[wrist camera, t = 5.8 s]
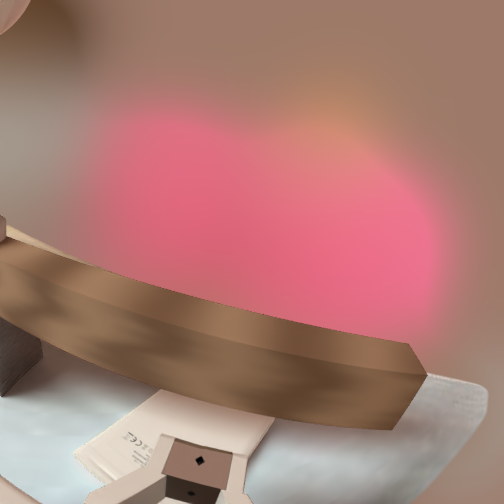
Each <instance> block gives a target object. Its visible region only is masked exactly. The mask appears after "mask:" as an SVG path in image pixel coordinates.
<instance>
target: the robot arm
mask: <svg viewBox="0 0 504 504" xmlns="http://www.w3.org/2000/svg"><path fill="white" fill-rule="evenodd" d="M29 2H30V0H0V34H2V33H3V32H5V31H6V30H7V29H8V28H10V27H11V26H12V25H13V24H14V23H15V22H16V21H17V20H18V19H19V17H20V16H21V15H22V14H23V12H24V11H25V9H26V7H27V6H28V4H29ZM247 462H248V457H247V455H243V454H238V453H232V452H230V451H225V450H221V449H216V448H212V447H208V446H202V445H198V444H195V443H192V442H188V441H185V440H182V439H178V438H176V437H172V436H169V435H166V434H163V433H161V435H160V436H159V438H158V440H157V443H156V445H155V447H154V450H153V452H152V454H151V457H150V459H149V461H148V464H147V466H146V468H144V467H140V468H138V469H137V470H135V471H133V472H131V473H129V474H127V475H125V476H123V477H121V478H119V479H118V480H116V481H114V482H112V483H110V484H108V485H105V486H103V487H101V488H99V489H97V490H95V491H93V492H91V493H89V495H88V497H87V499H86V501H85V503H84V504H157V503H159V502H160V501H162V500H163V499H164V498H165V497H167V498H171V499H174V500H178V501H182V502H186V503H190V504H253V503H252V501H251V500H250V498H249V496H248V495H247V494H243V492H244V484H245V477H246V470H247ZM0 504H42V503H40V502H39V501H37V500H35V499H34V498H32V497H31V496H29V495H28V494H26V493H25V492H23V491H22V490H20V489H19V488H18V487H16V486H15V485H13V484H12V483H11V482H9V481H8V480H6V479H5V478H4V477H2V476H1V475H0Z"/></svg>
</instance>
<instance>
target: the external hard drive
mask: <svg viewBox="0 0 504 504" xmlns="http://www.w3.org/2000/svg"><path fill="white" fill-rule="evenodd" d="M274 420H275V417H269V416H264V415H259V414H254V413H249V412H245V411H240V410H236V409H231V408H227V407H223V406H219V405H215V404H211V403H207V402H204V401H200V400H196V399H193V398H189V397H186V396H182V395H179V394H176V393H172V392H169V391H166V390H163V389H160V390H159V391H158V392H156V393H155V394H154V395H152V396H151V397H150V398H148V399H147V400H146V401H144V402H143V403H142V404H140V405H139V406H137V407H136V408H135V409H133V410H132V411H131V412H129V413H128V414H127V415H125V416H124V417H123V418H121V419H120V420H118V421H117V422H116V423H114V424H113V425H111V426H110V427H109V428H107V429H106V430H104V431H103V432H102V433H100V434H99V435H97V436H96V437H94V438H93V439H92V440H90V441H89V442H87V443H86V444H84V445H83V446H81V447H80V448H78V449H77V450H76V451H74V452H73V454H74V456H75V458H76V459H77V460H78V461H79V462H80V463H81V464H82V465H83V466H84V467H85V468H86V469H87V470H88V471H89V472H91V473H92V474H93V475H94V476H95V477H96V478H97V479H98V480H100V481H101V482H102V483H103V484H104V485H108V484H110V483H112V482H114V481H116V480H118V479H119V478H121V477H123V476H125V475H127V474H129V473H131V472H133V471H135V470H137V469H138V468H140V467H144V468H146V466H147V464H148V461H149V459H150V457H151V454H152V452H153V450H154V447H155V445H156V443H157V440H158V438H159V436H160V435H161V433H163V434H166V435H169V436H172V437H176V438H178V439H182V440H185V441H188V442H192V443H195V444H198V445H202V446H208V447H212V448H216V449H221V450H225V451H230V452H232V453H238V454H243V455H247V457H248V459H249V457H250V456H251V455H252V453H253V452H254V450H255V449H256V447H257V446H258V444H259V443H260V441H261V440H262V438H263V437H264V435H265V434H266V432H267V431H268V429H269V428H270V426H271V425H272V423H273V422H274ZM157 504H190V503H186V502H182V501H178V500H174V499H171V498H167V497H165V498H164V499H163V500H162V501H160V502H159V503H157Z"/></svg>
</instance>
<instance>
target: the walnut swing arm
mask: <svg viewBox="0 0 504 504" xmlns="http://www.w3.org/2000/svg"><path fill="white" fill-rule="evenodd" d="M0 317H2V318H3V319H5V320H7V321H9V322H10V323H12V324H14V325H16V326H17V327H19V328H21V329H23V330H25V331H26V332H28V333H30V334H32V335H34V336H36V337H38V338H40V339H42V340H43V341H45V342H47V343H49V344H51V345H53V346H56V347H58V348H60V349H62V350H64V351H66V352H68V353H70V354H72V355H75V356H77V357H79V358H81V359H84V360H86V361H88V362H91V363H93V364H95V365H98V366H100V367H103V368H105V369H107V370H110V371H113V372H115V373H118V374H120V375H123V376H126V377H128V378H131V379H134V380H136V381H139V382H142V383H145V384H148V385H151V386H154V387H157V388H160V389H163V390H166V391H169V392H172V393H176V394H179V395H182V396H186V397H189V398H193V399H196V400H200V401H204V402H207V403H211V404H215V405H219V406H223V407H227V408H231V409H236V410H240V411H245V412H249V413H254V414H259V415H264V416H269V417H275V418H281V419H286V420H293V421H299V422H306V423H313V424H321V425H329V426H339V427H349V428H362V429H378V430H392V429H393V428H394V426H395V425H396V424H397V422H398V421H399V419H400V418H401V416H402V415H403V413H404V412H405V410H406V409H407V408H408V406H409V404H410V403H411V401H412V400H413V398H414V397H415V395H416V394H417V392H418V390H419V389H420V387H421V386H422V384H423V382H424V381H425V379H426V377H427V373H426V372H425V370H424V368H423V366H422V365H421V363H420V361H419V360H418V358H417V357H416V355H415V353H414V352H413V350H412V348H411V347H410V345H409V344H407V343H400V342H395V341H389V340H384V339H378V338H372V337H367V336H361V335H356V334H351V333H346V332H341V331H336V330H331V329H326V328H322V327H317V326H312V325H307V324H303V323H298V322H294V321H289V320H285V319H281V318H276V317H272V316H268V315H264V314H259V313H255V312H251V311H247V310H243V309H239V308H235V307H231V306H227V305H223V304H219V303H215V302H211V301H208V300H204V299H200V298H196V297H193V296H189V295H186V294H182V293H178V292H175V291H171V290H168V289H164V288H161V287H157V286H154V285H150V284H147V283H144V282H140V281H137V280H134V279H130V278H127V277H124V276H121V275H117V274H114V273H111V272H108V271H105V270H102V269H98V268H95V267H92V266H89V265H86V264H83V263H80V262H77V261H74V260H71V259H68V258H65V257H62V256H59V255H57V254H54V253H51V252H48V251H45V250H42V249H40V248H37V247H34V246H31V245H29V244H26V243H23V242H21V241H18V240H15V239H13V238H10V237H7V236H6V219H5V218H4V217H3V216H1V215H0Z"/></svg>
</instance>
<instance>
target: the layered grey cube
mask: <svg viewBox="0 0 504 504" xmlns="http://www.w3.org/2000/svg"><path fill="white" fill-rule="evenodd" d="M42 357H43V354H42V348H41V342H40V338H38V337H36V336H34V335H32V334H30V333H28V332H26V331H25V330H23V329H21V328H19V327H17V326H16V325H14V324H12V323H10V322H9V321H7V320H5V319H3V318H2V317H0V396H1V397H2V396H3V395H4V394H5V393H6V392H7V391H8V390H9V389H10V388H11V387H12V386H13V385H14V384H15V383H16V382H17V381H18V380H19V379H20V378H21V377H22V376H23V375H24V374H25V373H26V372H27V371H28V370H29V369H30V368H31V367H33V366H34V365H35V364H36V363H37V362H38V361H39V360H40V359H41V358H42Z"/></svg>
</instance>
